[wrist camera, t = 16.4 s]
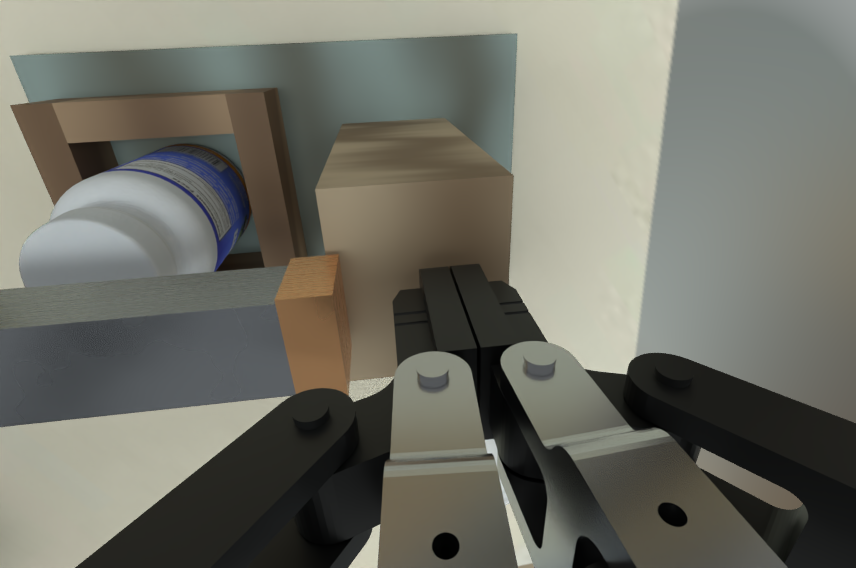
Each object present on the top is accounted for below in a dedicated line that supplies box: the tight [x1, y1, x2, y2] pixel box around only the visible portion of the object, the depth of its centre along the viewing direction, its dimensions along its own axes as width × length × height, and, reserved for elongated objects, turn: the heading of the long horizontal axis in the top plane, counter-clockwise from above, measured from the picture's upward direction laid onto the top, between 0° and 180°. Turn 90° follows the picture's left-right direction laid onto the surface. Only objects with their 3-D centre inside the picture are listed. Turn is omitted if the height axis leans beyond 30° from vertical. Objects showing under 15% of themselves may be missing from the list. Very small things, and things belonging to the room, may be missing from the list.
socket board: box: [10, 34, 517, 381], centre depth 18 cm, size 22×13×13 cm, turn 93°
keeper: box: [0, 254, 352, 427], centre depth 11 cm, size 11×3×2 cm, turn 93°
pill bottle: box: [19, 144, 252, 288], centre depth 18 cm, size 5×5×10 cm
